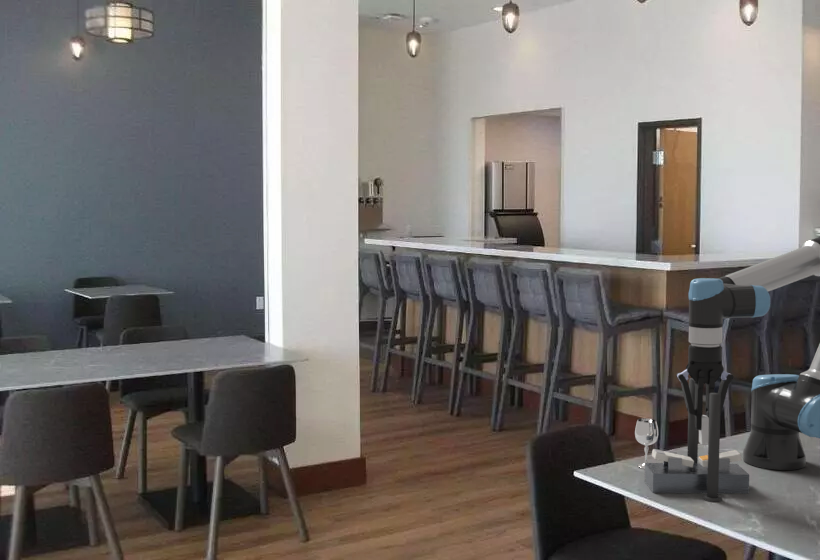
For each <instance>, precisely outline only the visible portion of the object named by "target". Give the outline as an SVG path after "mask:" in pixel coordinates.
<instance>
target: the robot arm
mask: <svg viewBox="0 0 820 560" xmlns="http://www.w3.org/2000/svg"><path fill="white" fill-rule="evenodd" d="M811 276H815V277H820V236H817V237H814V238H812V239H809V240H807V241H805V242H803V244H802V246H801V247H799V248H796V249H794V250H791V251H789V252H786V253H784V254H781V255H778V256H775V257H773V258H770V259H767V260H764V261H761V262H759V263H757V264H753V265H751V266H748V267H744V268H743V269H740V270H737V271H735V272H732V273H729V274H726V275H724V276H721V277H718V278H715V277H714V278H712V277H709V278H707V277H700V278H694V279H692V280H691V281H690V283H689V290H688V343H690V344H689V345H688V348H687V349H688V353H687V354H688V355H687V356H688V357H687V358H688V359H687V361H688V362H687V365H686V367H685V369H684V370H683V371H682V372H677V373H676V375H675V376H676V377H677V379H678V381H679V382H680V386H681V390H682V395H683V399H684V403H685V408H686V411H687V413H688V412H689V413H690V414H693V415H695V428H696V429H697V430H698V444H700V445H701V446H708V436H709V394H710V393H715V387H716V382H717V381H718V380H719V378H720V380H721V381H720V383H719V386H718V391H717V393H720V394H721V404H720V415H721V414H722V412H723V408H724V403H725V400H726V396H727V394H728V388H729V386H730V383H731V382H732V381H733V379H734V374H732V373H729V372H727V371H726V370H725V368H724V366H723V347H722V345H721V344H723V327H724V326H723V324H724V321H723V320H724V319H735V318H736V319H738V318H740V319H741V318H751V319H753V318H758V317H763V316H765V315H766V314H768V312H769V310H770V308H771V296H770V293H769V292H771V291H773V290H776V289H779V288H781V287H782V288H783V287H784V286H787V285H789V284H792V283H795V282H797V281H800V280H803V279H806V278H808V277H811ZM689 377H690V378H692V379H693V381H694V382H695V409H694V406H693V402H692V397H691V393H690V389H689ZM704 386H705V387H704ZM704 388H705V414H703V413H704V412H703V409H704V408H703V406H704V405H703V404H704V399H703V398H704ZM750 391H751V411H750V412H751V415H750V417H751V418H750V424H751V425H750V433H749V436H748V438H747V441H746V443H745V445H744V448H743V453H742V460H743V462H744V463H746V464H748V465H750V466H755V467H757V468H762V469H769V470H776V471H791V470H793V471H794V470H800V469H804V468H805V467H806V463H807V462H806V460H807V459H806V456H807V455H806V453H805V450H804V446H803V443H802V440H801V437H800V433H801V434H804V435H805V436H807V437H810V438H817V439H820V343H819V344H818V347H817V349H816V352H815V354H814V357H813V359H812V361H811V363H810V365H809V368H808V369H807V370H805V371H803V372H801V373H800V374H792V373H791V374H790V373H785V374H782V373H778V374H777V373H776V374H759V375H756V376H755V377H754V378H753V379H752V385H751V390H750Z"/></svg>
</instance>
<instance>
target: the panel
mask: <svg viewBox="0 0 820 560" xmlns="http://www.w3.org/2000/svg"><path fill="white" fill-rule="evenodd" d="M668 452H669V453H674V454H678V453H677V451H668ZM719 453H722V452H720V451H719ZM707 479H708V466H707V467H703V466H702V465H701V464H700V463H699V462H697V463H694V464H693V467H689V466H684V465H682V458H669V459H668V462H666V461H662V462H648V463H645V469H644V482H645V484H646V485H647V486H648V488H649V489H650V491H651V492H652V493H655V494H662V493H663V494H707ZM735 493H737V495H738V493H740V495H741V494H742V495H745V494H748V495H749V493H750V474H749V473H748V472H747V471H745V469H743V467H741V466H740V465H739V464H738V463H731V462H730V459H729V458H719V486H718V494H728V495H729V494H735ZM735 495H736V494H735Z"/></svg>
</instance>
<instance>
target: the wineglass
mask: <svg viewBox="0 0 820 560" xmlns="http://www.w3.org/2000/svg"><path fill="white" fill-rule="evenodd" d="M634 436H635V440H636V441H637V442H638V443H639V444H641V445H643V446H644V448H643V449H644V450H643V451H644V453H645V455H644V462H643V463H639V464H637V465H638V467H637V468H639V467H640V469H643V470H645V463H649V462H648V452H649V446H650V445H651V446H652V445H654V444H655V443H656V442H658V438H659V427H658V423H657V420H656V419H653V418H638V419H637V421H636V425H635V430H634Z"/></svg>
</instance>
